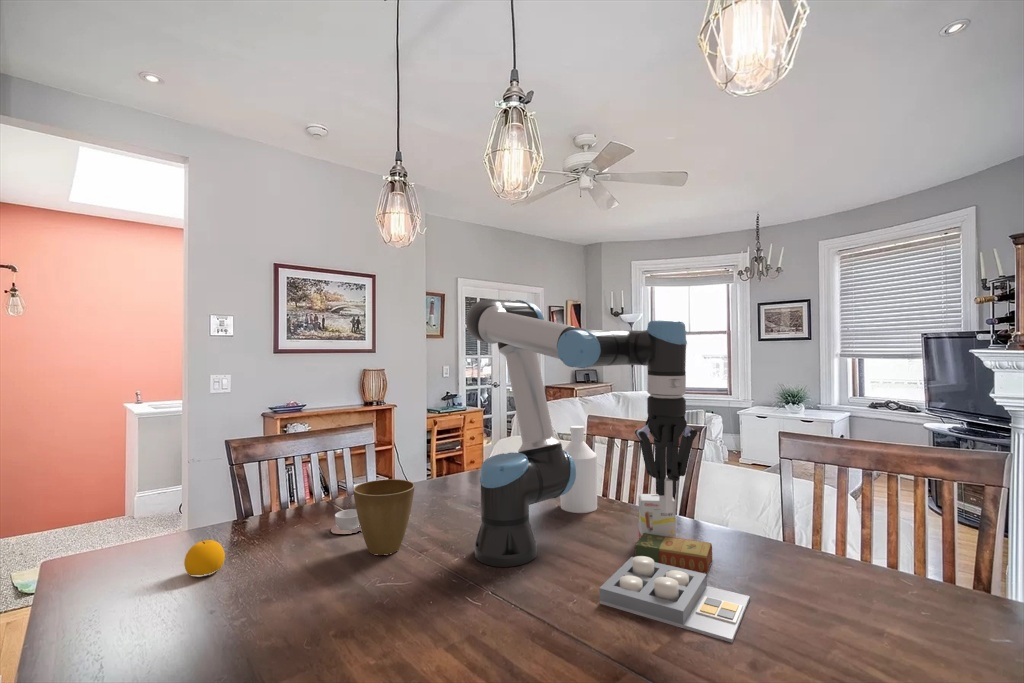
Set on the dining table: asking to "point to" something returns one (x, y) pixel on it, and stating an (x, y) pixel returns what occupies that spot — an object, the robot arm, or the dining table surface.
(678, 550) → the carton
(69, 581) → the dining table surface
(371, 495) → the plant pot
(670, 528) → the ink box
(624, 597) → the keypad board
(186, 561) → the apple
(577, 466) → the bottle
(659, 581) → the button
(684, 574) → the button
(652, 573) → the button
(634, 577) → the button
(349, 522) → the teacup
